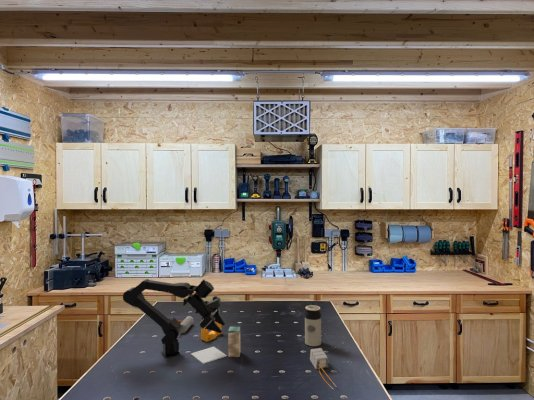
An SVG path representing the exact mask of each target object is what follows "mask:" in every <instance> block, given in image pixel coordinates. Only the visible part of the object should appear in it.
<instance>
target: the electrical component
mask: <svg viewBox="0 0 534 400" xmlns="http://www.w3.org/2000/svg"><path fill="white" fill-rule="evenodd" d="M309 352H310V354H309V355H310V356H309V360H310V362H311V364H312V365H313V367H314V369H315V370H318V371H319V374H320V376H321V378H322V379H323V381H324V382H325V383H326V384H327V385H328V386H329V387H330V388H331V389H332V390H334V388H333V387H332V386H331V385H330V383H328V381H326V379H325V378H324V376H323V374H322V372H321V371H320V370H322V371H323V373H324V374H325V375H326V377H327V378H328V379H329V380H330V382H331V383H332V384H333V386H334V387H337V385H336V384H335V383H334V382H333V380H332V379H331V378H330V376H329V375H328V374H327V373H326V371H325V370H324V369H326V368H330V367H329V363H330V359H328V356H327V354H326V353H325V351H324V350H323V348H322V347H318V348H312V349H310V351H309Z"/></svg>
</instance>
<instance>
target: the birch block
mask: <svg viewBox="0 0 534 400" xmlns="http://www.w3.org/2000/svg"><path fill="white" fill-rule="evenodd" d="M227 331H228V332H227V335H228V338H227V339H228V341H227V342H228V344H227V345H228V350H227V351H228V358H240V355H241V351H242V350H241V326H229V328H228V330H227Z"/></svg>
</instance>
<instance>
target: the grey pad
mask: <svg viewBox="0 0 534 400" xmlns="http://www.w3.org/2000/svg"><path fill="white" fill-rule="evenodd" d="M190 355H191V356H192V357H193V358H194V359H196V360H197V361H198V362H199V363H201V364H202V365H205V364H208V363H211V362H213V361H217V360H219V359H223V358H226V357H227V354H225V353H224V352H223V351H222V350H220V349H218V348H216V347H215V346H211V347H208V348H205V349H201V350H198V351H193V352H192V353H190Z"/></svg>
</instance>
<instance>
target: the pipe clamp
mask: <svg viewBox="0 0 534 400" xmlns="http://www.w3.org/2000/svg"><path fill="white" fill-rule="evenodd" d="M215 323H216V324H217V325H218V327H219V328H220V329H221V331H222V332H223V330H222V328H223V327H222V326H223V325H221V324H219V323H217V322H215ZM222 332H221V333H218V332H215V331H212V330H210V331H209V330H208V329H202V328H201V327H200V340H201V341H204V342H205V343H207V342H209V341H211V340H214V339H216V338H217V336H220V335H222Z"/></svg>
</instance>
